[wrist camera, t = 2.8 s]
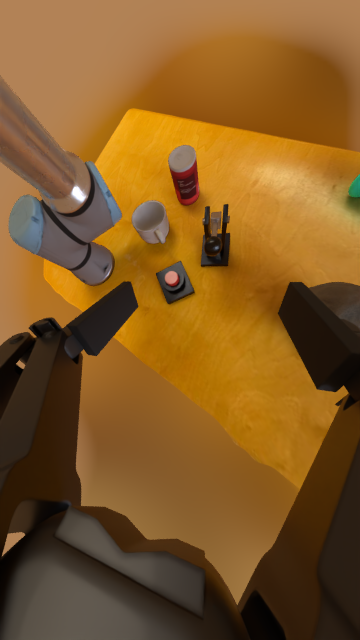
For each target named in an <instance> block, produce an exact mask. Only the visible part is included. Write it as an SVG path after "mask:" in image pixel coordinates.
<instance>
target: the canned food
mask: <svg viewBox="0 0 360 640" xmlns="http://www.w3.org/2000/svg"><path fill="white" fill-rule="evenodd" d="M168 162H169V167H170V171H171V175H172V179H173V183H174V187H175V191H176V194H177V198H178V200H179V202H180V203H181V204H183V205H190V204H192V203H194V202H195V201H196V200H197V198H198V196H199V183H198V172H197V162H196V154H195V150H194V148H192V147H191V146H188V145H183V146H179V147H177V148H176V149H174V150H173V151H172V153H171V154H170V156H169V160H168Z"/></svg>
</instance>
